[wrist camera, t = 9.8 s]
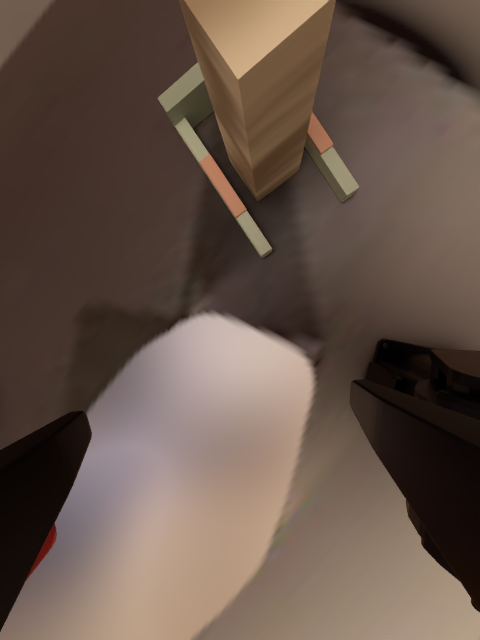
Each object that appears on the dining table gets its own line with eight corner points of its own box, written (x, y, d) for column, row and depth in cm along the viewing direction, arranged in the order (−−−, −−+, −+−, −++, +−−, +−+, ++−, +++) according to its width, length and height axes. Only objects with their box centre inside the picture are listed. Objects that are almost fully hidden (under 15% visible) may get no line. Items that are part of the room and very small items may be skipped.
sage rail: (352, 195, 20) (366, 177, 17) (261, 258, 21) (260, 252, 18) (259, 52, 20) (256, 10, 17) (173, 125, 21) (157, 98, 18)
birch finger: (299, 170, 20) (337, -7, 8) (257, 202, 21) (238, 79, 9) (269, 125, 20) (264, -116, 8) (228, 159, 21) (169, -22, 9)
